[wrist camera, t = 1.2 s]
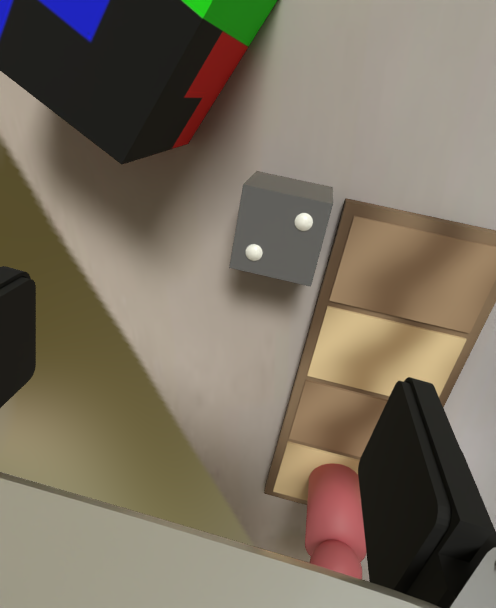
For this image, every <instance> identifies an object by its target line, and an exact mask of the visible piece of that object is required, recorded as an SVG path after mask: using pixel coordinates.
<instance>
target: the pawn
mask: <svg viewBox="0 0 496 608" xmlns="http://www.w3.org/2000/svg"><path fill="white" fill-rule="evenodd" d="M305 548H306V551H307V552H308V554H309V555H310V556H311V559H310V563H311V564H314V565H317V566H320V567H324V568H327V569H330V570H333V571H336V572H339V573H343V574H346V575H349V576H352V577H355V578H358V579H361V580H362V567H361V563H360V562H361V561H362V560H363V559H364V557H365V555H366V542H365V533H364V524H363V515H362V506H361V497H360V487H359V478H358V474H357V473H356V472H355V471H354V470H352V469H351V468H349V467H347V466H344V465H341V464H335V463H330V464H324V465H321V466H318V467H317V468H315V469H314V470H313V471H312V472H311V474H310V476H309V486H308V503H307V520H306V537H305Z"/></svg>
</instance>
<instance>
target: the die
mask: <svg viewBox="0 0 496 608" xmlns="http://www.w3.org/2000/svg"><path fill="white" fill-rule="evenodd" d="M332 205H333V187H329V186H324V185H320V184H315V183H310V182H306V181H301V180H296V179H291V178H287V177H282V176H277V175H273V174H268V173H263V172H259V171H257V172H256V173H255V174H253V175H252V176H251V177H250V178H249V179H248V180H247V181H246V182H245V183H244V184H243V189H242V195H241V201H240V207H239V213H238V219H237V225H236V231H235V237H234V243H233V249H232V255H231V261H230V267H229V268H233V269H237V270H241V271H246V272H250V273H254V274H259V275H263V276H267V277H272V278H276V279H280V280H285V281H289V282H293V283H298V284H302V285H306V286H311V284H312V280H313V277H314V273H315V269H316V265H317V262H318V258H319V254H320V250H321V247H322V243H323V239H324V235H325V232H326V228H327V224H328V220H329V217H330V213H331V209H332Z"/></svg>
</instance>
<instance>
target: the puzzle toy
mask: <svg viewBox="0 0 496 608" xmlns="http://www.w3.org/2000/svg"><path fill="white" fill-rule="evenodd" d="M276 2H277V0H0V71H2V72H3V73H4V74H5V75H7V76H8V77H9V78H11V79H12V80H13V81H15V82H16V83H17V84H18V85H20V86H21V87H22V88H24V89H25V90H26V91H27V92H29V93H30V94H31V95H33V96H34V97H35V98H36V99H38V100H39V101H40V102H42V103H43V104H44V105H46V106H47V107H48V108H49V109H51V110H52V111H53V112H55V113H56V114H57V115H58V116H60V117H61V118H62V119H64V120H65V121H66V122H68V123H69V124H70V125H71V126H73V127H74V128H75V129H77V130H78V131H79V132H80V133H82V134H83V135H84V136H86V137H87V138H88V139H89V140H91V141H92V142H93V143H95V144H96V145H97V146H99V147H100V148H101V149H102V150H104V151H105V152H106V153H108V154H109V155H110V156H111V157H113V158H114V159H115V160H117V161H118V162H119V163H121V164H125V163H128V162H131V161H134V160H137V159H141V158H144V157H147V156H150V155H153V154H157V153H160V152H163V151H166V150H170V149H173V148H176V147H179V146H182V145H186V144H188V143H189V142H190V140H191V138H192V137H193V135H194V134H195V132H196V130H197V129H198V127H199V126H200V124H201V122H202V121H203V119H204V117H205V116H206V114H207V113H208V111H209V109H210V108H211V106H212V105H213V103H214V101H215V100H216V98H217V97H218V95H219V93H220V92H221V90H222V89H223V87H224V85H225V84H226V82H227V81H228V79H229V77H230V76H231V74H232V73H233V71H234V69H235V68H236V66H237V65H238V63H239V61H240V60H241V58H242V57H243V55H244V53H245V52H246V50H247V49H248V47H249V45H250V44H251V42H252V40H253V39H254V37H255V36H256V34H257V32H258V31H259V29H260V28H261V26H262V24H263V23H264V21H265V20H266V18H267V16H268V15H269V13H270V12H271V10H272V8H273V7H274V5H275V4H276Z"/></svg>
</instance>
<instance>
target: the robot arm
mask: <svg viewBox="0 0 496 608" xmlns="http://www.w3.org/2000/svg"><path fill="white" fill-rule="evenodd" d="M35 289H36V288H35V282H34V281H33V280H31V279H30V276H29V274H28V273H27V272H23V271H20V270H16V269H13V268H9V267H4V266H3V267H0V408H1V407H2V406H3V405H4V404H5V403H6V402H7V401H8V400H9V399H10V398H11V397H12V396H13V395H14V394H15V393H16V392H17V391H18V390H20V389H21V387H23V386H24V385H25V384H26V383H27V382H28V381H29V380H30V379H31V377H32V376H33V373H34V371H35V365H36V364H35V363H36V361H35V360H36V359H35V357H36V356H35V355H36V352H35V351H36V350H35V349H36V348H35V346H36V345H35V344H36V342H35V338H36V336H35V334H36V329H35V327H36V325H35V322H36V318H35V317H36V316H35V315H36V313H35V312H36V310H35V309H36V308H35V306H36V305H35V304H36V299H35V296H36V293H35V291H36V290H35ZM358 478H359V487H360V497H361V506H362V515H363V524H364V533H365V542H366V552H367V561H368V570H369V579H370V582H368V581H365V580H361V579H358V578H355V577H352V576H349V575H346V574H343V573H339V572H336V571H333V570H330V569H327V568H324V567H320V566H317V565H314V564H311V563H308V562H305V561H301V560H298V559H294V558H291V557H288V556H284V555H281V554H278V553H274V552H271V551H268V550H264V549H261V548H258V547H254V546H251V545H247V544H244V543H241V542H237V541H234V540H231V539H227V538H224V537H221V536H217V535H214V534H210V533H207V532H204V531H200V530H197V529H194V528H190V527H187V526H184V525H181V524H177V523H173V522H170V521H167V520H164V519H160V518H156V517H153V516H150V515H146V514H143V513H140V512H136V511H133V510H129V509H126V508H122V507H119V506H115V505H112V504H109V503H106V502H102V501H99V500H95V499H92V498H88V497H85V496H81V495H78V494H74V493H71V492H67V491H64V490H61V489H57V488H54V487H51V486H47V485H44V484H40V483H37V482H33V481H30V480H26V479H23V478H19V477H15V476H12V475H9V474H5V473H2V472H0V608H496V532H495V529H494V527H493V524H492V522H491V520H490V517H489V515H488V512H487V510H486V508H485V505H484V503H483V500H482V498H481V496H480V493H479V491H478V488H477V486H476V484H475V481H474V479H473V476H472V474H471V472H470V469H469V467H468V464H467V462H466V460H465V457H464V455H463V453H462V451H461V449H460V447H459V445H458V442H457V440H456V438H455V435H454V433H453V430H452V428H451V426H450V423H449V421H448V418H447V416H446V413H445V411H444V409H443V406H442V404H441V401H440V399H439V397H438V394H437V392H436V389H435V387H434V385H433V384H432V383H429V382H425V381H422V380H418V379H414V378H411V377H408V378H406V379H405V381H404V382H403V381H398V382H397V383H396V384H395V386H394V388H393V390H392V392H391V394H390V397H389V399H388V401H387V403H386V405H385V407H384V409H383V411H382V414H381V416H380V418H379V420H378V422H377V424H376V426H375V428H374V430H373V433H372V435H371V437H370V439H369V441H368V443H367V445H366V447H365V450H364V452H363V454H362V456H361V458H360V461H359V466H358Z"/></svg>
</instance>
